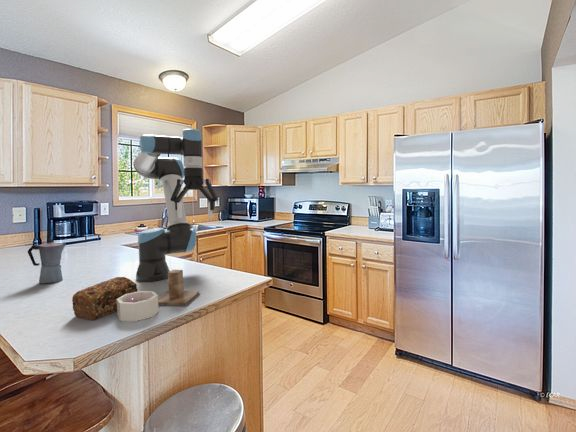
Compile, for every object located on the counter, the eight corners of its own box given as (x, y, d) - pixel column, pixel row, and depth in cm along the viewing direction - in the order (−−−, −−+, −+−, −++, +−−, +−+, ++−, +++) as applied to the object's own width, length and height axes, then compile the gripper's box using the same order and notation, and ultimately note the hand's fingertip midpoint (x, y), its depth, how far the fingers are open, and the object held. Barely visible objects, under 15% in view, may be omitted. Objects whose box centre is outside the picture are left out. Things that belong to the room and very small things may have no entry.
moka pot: (73, 278, 154) (70, 237, 152) (37, 287, 140) (33, 242, 138) (61, 276, 158) (58, 236, 156) (25, 285, 144) (21, 241, 142)
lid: (151, 304, 117) (150, 275, 116) (168, 292, 130) (167, 266, 129) (185, 305, 116) (184, 276, 115) (199, 293, 129) (198, 267, 128)
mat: (150, 305, 117) (150, 304, 117) (167, 293, 130) (167, 292, 130) (187, 306, 116) (187, 305, 116) (200, 294, 129) (200, 293, 129)
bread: (119, 299, 125) (118, 274, 124) (139, 302, 121) (138, 277, 120) (71, 317, 108) (69, 288, 107) (93, 322, 104) (91, 292, 103)
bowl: (110, 320, 104) (109, 302, 104) (132, 306, 116) (131, 290, 116) (145, 321, 103) (144, 303, 102) (163, 307, 115) (162, 291, 114)
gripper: (160, 167, 131) (162, 218, 133) (218, 166, 127) (220, 219, 130) (169, 168, 138) (171, 216, 140) (225, 167, 135) (226, 217, 137)
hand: (195, 218), depth 135 cm, fingers open, 13 cm apart
